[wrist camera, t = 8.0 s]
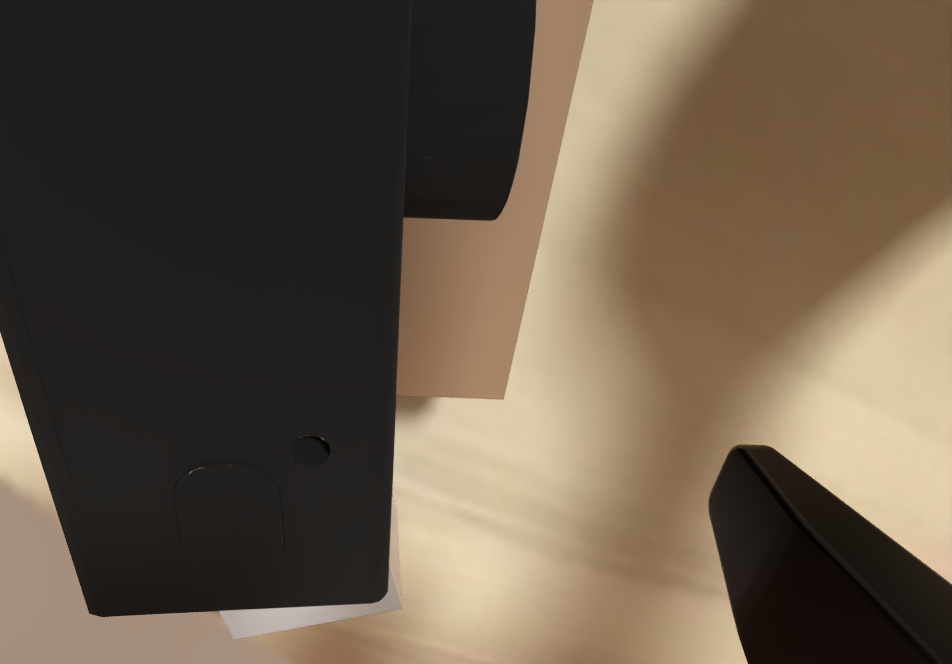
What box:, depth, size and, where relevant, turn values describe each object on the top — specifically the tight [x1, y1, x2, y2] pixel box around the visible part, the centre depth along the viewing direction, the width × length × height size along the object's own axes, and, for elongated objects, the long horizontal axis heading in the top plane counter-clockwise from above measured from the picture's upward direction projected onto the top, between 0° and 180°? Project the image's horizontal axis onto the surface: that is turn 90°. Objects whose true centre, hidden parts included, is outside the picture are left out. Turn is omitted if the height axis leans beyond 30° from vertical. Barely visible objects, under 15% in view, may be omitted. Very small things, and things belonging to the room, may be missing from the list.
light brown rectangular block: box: [396, 0, 593, 400], centre depth 17 cm, size 8×12×4 cm, turn 172°
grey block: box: [218, 494, 402, 640], centre depth 24 cm, size 5×5×4 cm
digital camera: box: [0, 0, 536, 617], centre depth 12 cm, size 10×5×7 cm, turn 175°
